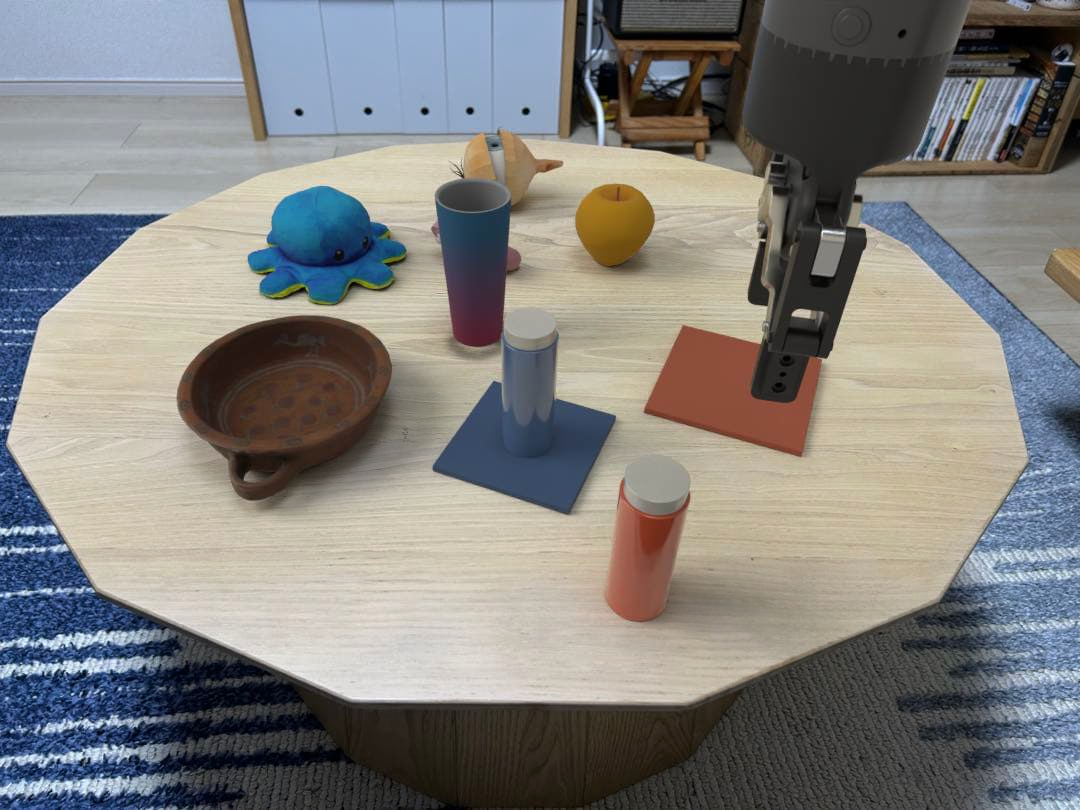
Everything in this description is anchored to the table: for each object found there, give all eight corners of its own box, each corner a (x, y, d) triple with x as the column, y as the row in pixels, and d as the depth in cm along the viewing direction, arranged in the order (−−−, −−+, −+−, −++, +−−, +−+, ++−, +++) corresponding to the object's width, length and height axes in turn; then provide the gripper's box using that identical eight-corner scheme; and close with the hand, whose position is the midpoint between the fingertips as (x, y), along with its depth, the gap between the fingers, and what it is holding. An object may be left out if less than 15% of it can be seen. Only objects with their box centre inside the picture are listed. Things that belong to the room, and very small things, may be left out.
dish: (408, 342, 76) (404, 299, 73) (381, 512, 60) (374, 467, 56) (230, 341, 76) (217, 299, 72) (153, 513, 59) (132, 468, 56)
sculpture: (431, 130, 96) (548, 97, 95) (452, 191, 103) (560, 161, 102) (439, 174, 90) (562, 139, 89) (460, 234, 97) (575, 203, 96)
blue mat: (615, 420, 68) (616, 415, 68) (568, 515, 60) (569, 510, 60) (493, 385, 72) (493, 380, 71) (432, 470, 63) (432, 465, 63)
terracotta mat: (820, 363, 75) (822, 359, 75) (800, 456, 66) (802, 451, 65) (681, 329, 79) (682, 324, 79) (643, 412, 69) (644, 407, 69)
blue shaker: (561, 430, 66) (568, 313, 58) (542, 463, 63) (546, 345, 55) (514, 416, 68) (515, 300, 60) (493, 448, 64) (491, 331, 56)
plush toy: (286, 220, 94) (272, 154, 89) (421, 233, 92) (415, 167, 87) (224, 294, 82) (203, 223, 76) (378, 311, 80) (369, 240, 75)
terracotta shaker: (673, 581, 56) (701, 464, 48) (657, 630, 53) (683, 514, 44) (615, 561, 57) (633, 444, 49) (596, 608, 54) (611, 491, 46)
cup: (457, 358, 74) (449, 218, 65) (435, 321, 79) (424, 184, 69) (521, 342, 77) (523, 204, 67) (496, 306, 81) (494, 172, 71)
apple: (653, 282, 86) (663, 208, 80) (573, 279, 86) (577, 206, 80) (646, 242, 92) (655, 171, 86) (572, 239, 92) (576, 168, 86)
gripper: (1006, 90, 25) (856, 447, 35) (923, -16, 35) (827, 284, 46) (769, 70, 26) (692, 424, 36) (758, -28, 36) (701, 269, 47)
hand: (768, 346), depth 41 cm, fingers open, 8 cm apart
